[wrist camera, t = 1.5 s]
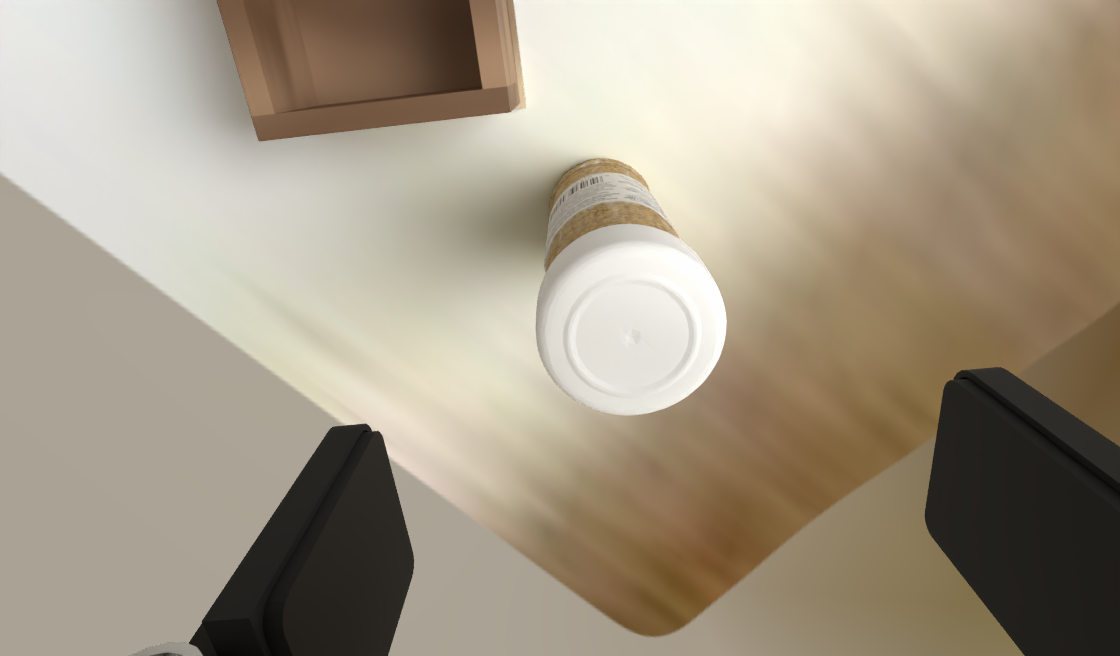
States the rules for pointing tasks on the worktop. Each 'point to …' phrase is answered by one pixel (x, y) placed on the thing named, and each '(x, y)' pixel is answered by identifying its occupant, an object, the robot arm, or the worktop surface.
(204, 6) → the worktop surface
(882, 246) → the worktop surface
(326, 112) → the open wooden box
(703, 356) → the sprinkles bottle
